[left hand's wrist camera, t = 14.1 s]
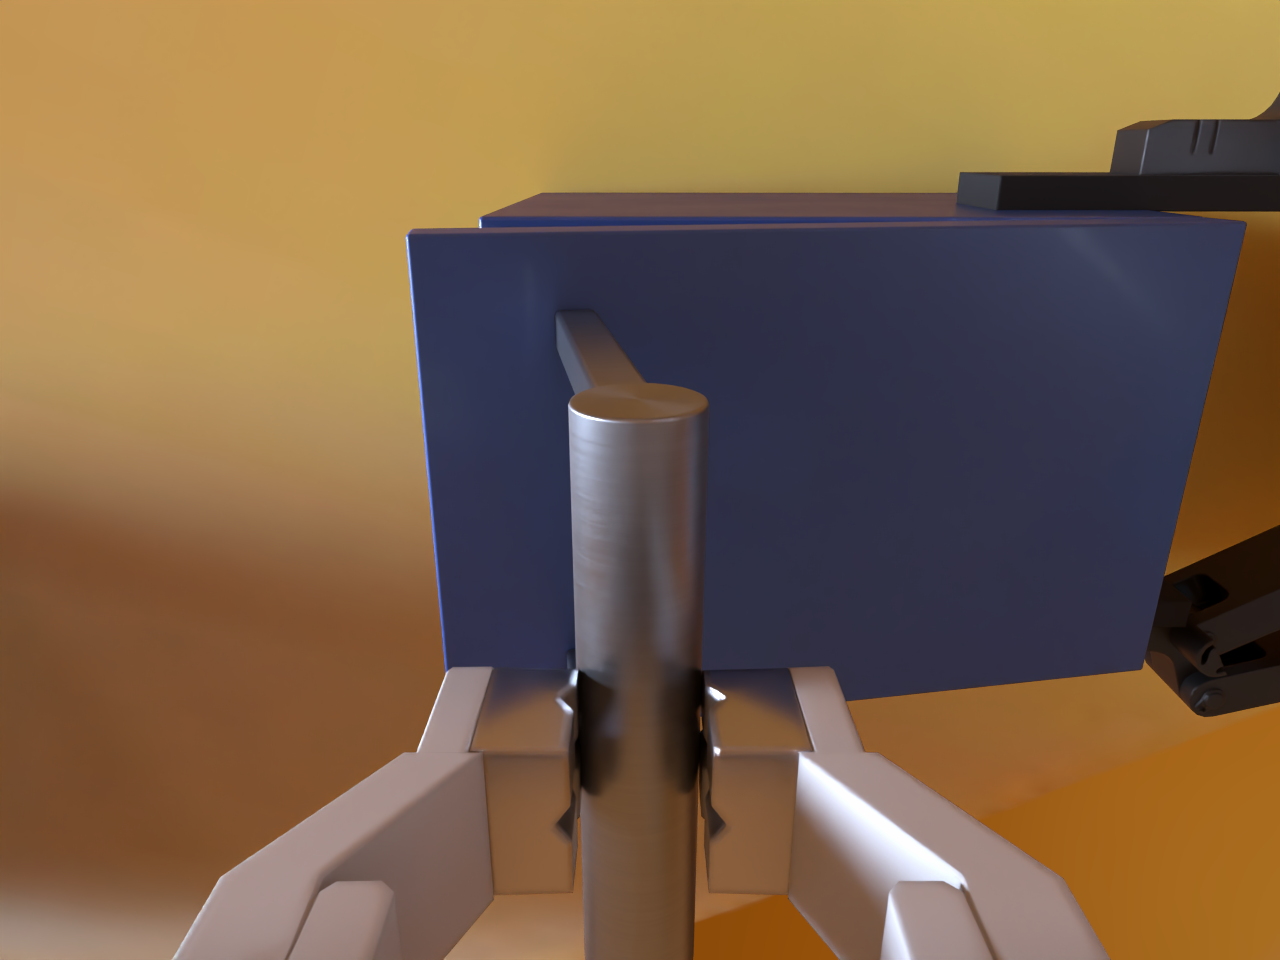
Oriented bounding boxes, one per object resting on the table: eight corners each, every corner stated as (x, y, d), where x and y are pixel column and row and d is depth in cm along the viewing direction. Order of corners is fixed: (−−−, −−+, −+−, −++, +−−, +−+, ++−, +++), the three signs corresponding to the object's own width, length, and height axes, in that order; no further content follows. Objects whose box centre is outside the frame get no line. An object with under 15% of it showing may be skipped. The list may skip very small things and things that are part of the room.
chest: (551, 486, 31) (504, 640, 21) (539, 192, 27) (477, 216, 18) (968, 488, 31) (1114, 644, 21) (1010, 192, 27) (1208, 216, 18)
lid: (453, 712, 18) (436, 1100, 11) (409, 228, 15) (342, 308, 7) (1111, 646, 21) (1467, 924, 13) (1205, 217, 17) (1757, 269, 10)
